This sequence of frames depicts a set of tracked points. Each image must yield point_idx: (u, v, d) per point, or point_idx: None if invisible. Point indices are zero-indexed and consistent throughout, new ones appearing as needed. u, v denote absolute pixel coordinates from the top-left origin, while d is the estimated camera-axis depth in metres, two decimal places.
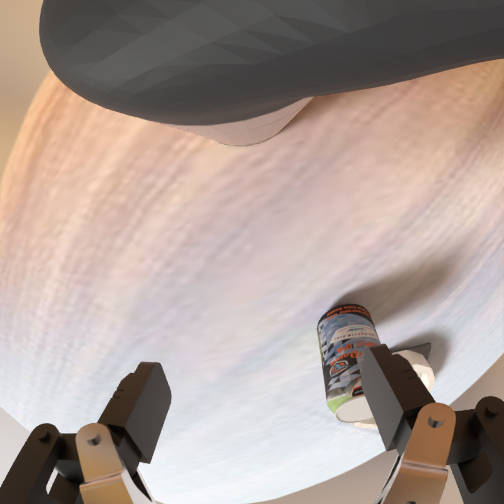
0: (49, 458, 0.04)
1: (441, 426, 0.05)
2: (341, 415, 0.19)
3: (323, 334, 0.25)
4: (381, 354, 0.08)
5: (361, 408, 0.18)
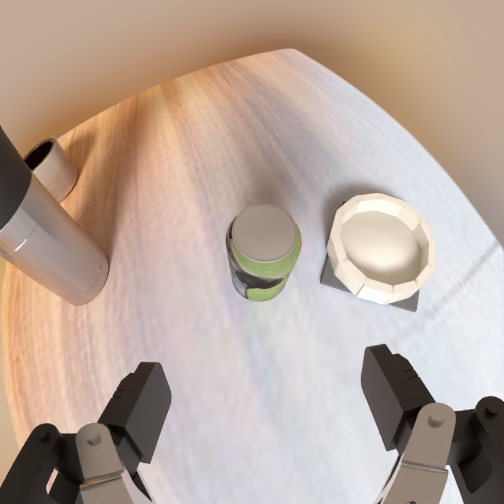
0: (49, 458, 0.04)
1: (441, 426, 0.05)
2: (262, 255, 0.20)
3: (237, 286, 0.27)
4: (381, 354, 0.08)
5: (260, 233, 0.21)
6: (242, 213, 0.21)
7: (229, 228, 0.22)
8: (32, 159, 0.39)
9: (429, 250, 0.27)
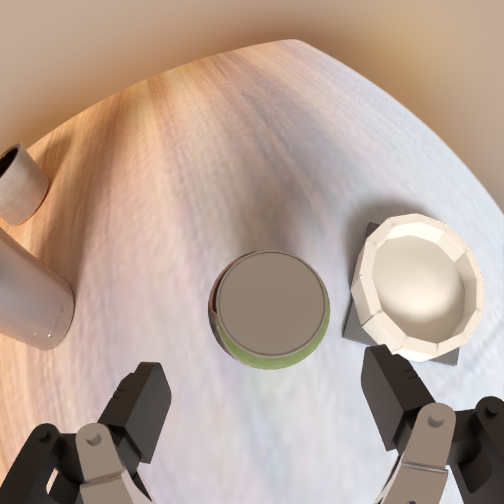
0: (49, 458, 0.04)
1: (441, 426, 0.05)
2: (268, 345, 0.11)
3: None
4: (381, 354, 0.08)
5: (264, 306, 0.12)
6: (234, 268, 0.13)
7: (213, 291, 0.13)
8: (0, 169, 0.30)
9: (477, 290, 0.18)
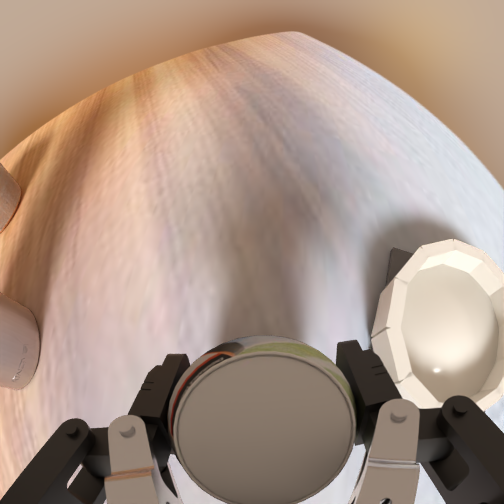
0: (75, 455, 0.05)
1: (402, 422, 0.05)
2: (259, 496, 0.05)
3: None
4: (351, 349, 0.09)
5: (253, 445, 0.06)
6: (200, 384, 0.07)
7: (172, 406, 0.07)
8: None
9: None
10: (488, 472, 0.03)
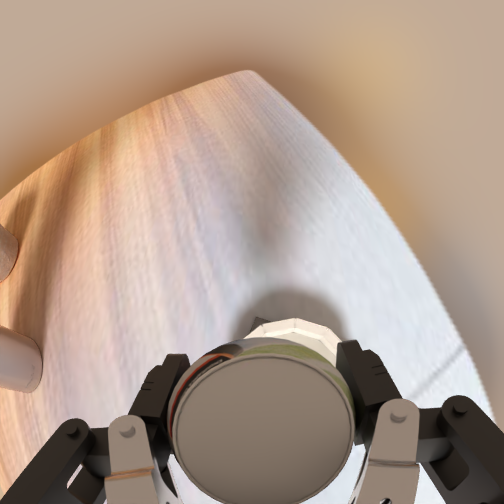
0: (75, 455, 0.05)
1: (402, 422, 0.05)
2: (257, 497, 0.05)
3: None
4: (351, 349, 0.09)
5: (252, 447, 0.06)
6: (199, 386, 0.06)
7: (171, 407, 0.07)
8: None
9: None
10: (488, 472, 0.03)
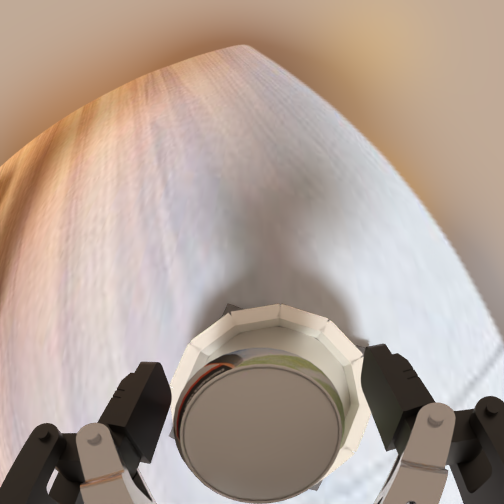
0: (50, 458, 0.04)
1: (440, 426, 0.05)
2: (255, 491, 0.06)
3: None
4: (381, 354, 0.08)
5: (250, 446, 0.07)
6: (204, 392, 0.07)
7: (178, 411, 0.08)
8: None
9: (355, 421, 0.14)
10: None
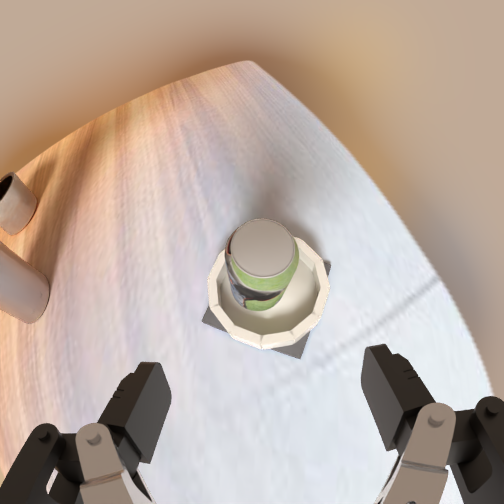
0: (49, 458, 0.04)
1: (441, 426, 0.05)
2: (260, 271, 0.20)
3: (236, 296, 0.28)
4: (381, 354, 0.08)
5: (258, 249, 0.21)
6: (241, 228, 0.22)
7: (228, 243, 0.22)
8: None
9: (319, 297, 0.28)
10: None
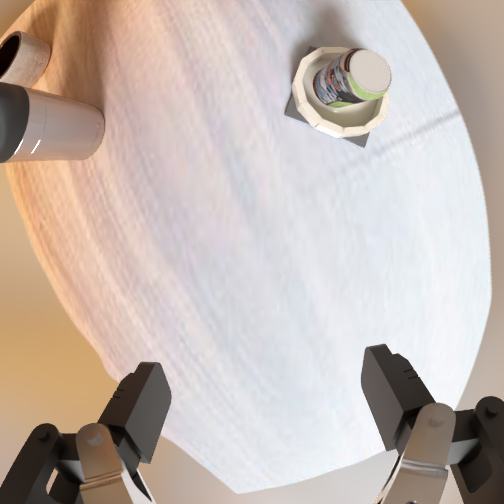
0: (49, 458, 0.04)
1: (441, 426, 0.05)
2: (371, 87, 0.22)
3: (324, 96, 0.29)
4: (381, 354, 0.08)
5: (368, 72, 0.21)
6: (355, 55, 0.20)
7: (343, 62, 0.21)
8: (0, 57, 0.22)
9: (382, 104, 0.30)
10: None
